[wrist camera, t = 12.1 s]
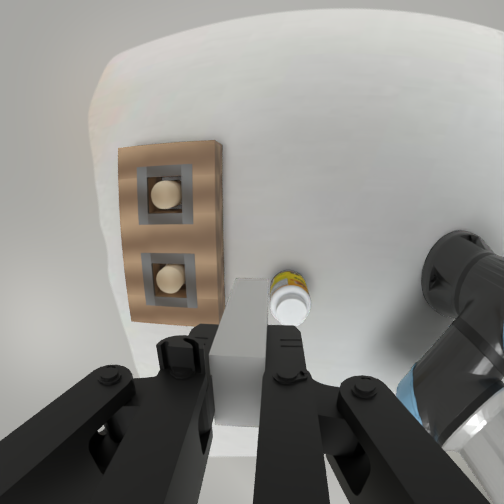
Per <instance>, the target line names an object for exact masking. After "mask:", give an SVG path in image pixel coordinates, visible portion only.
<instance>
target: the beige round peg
mask: <svg viewBox="0 0 504 504" xmlns="http://www.w3.org/2000/svg"><path fill="white" fill-rule="evenodd" d="M151 199H152V202H153V203H154V205H155V206H157V207H158V208H160V209H168V208H171V207H174V206H177V205H181V204H182V184H181V181H180V180H172V181H160V182H158V183H157V184H155V185H154V187H153V189H152V191H151Z"/></svg>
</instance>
